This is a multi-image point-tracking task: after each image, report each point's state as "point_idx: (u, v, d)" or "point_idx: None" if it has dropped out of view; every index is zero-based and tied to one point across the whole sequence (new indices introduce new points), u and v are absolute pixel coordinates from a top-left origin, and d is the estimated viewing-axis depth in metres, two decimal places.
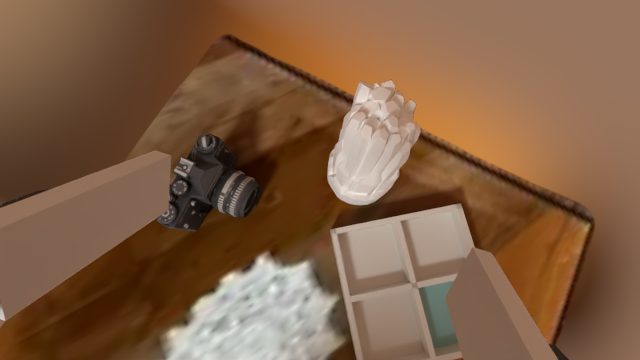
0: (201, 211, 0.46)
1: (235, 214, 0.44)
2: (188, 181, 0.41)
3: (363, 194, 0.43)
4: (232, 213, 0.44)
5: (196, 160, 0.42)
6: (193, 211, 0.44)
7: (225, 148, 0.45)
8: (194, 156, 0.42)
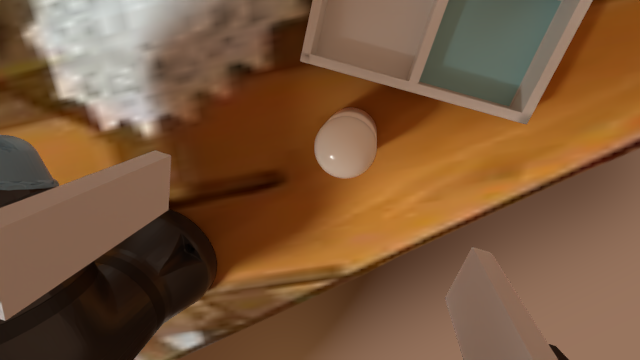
0: None
1: None
2: None
3: None
4: None
5: None
6: None
7: None
8: None
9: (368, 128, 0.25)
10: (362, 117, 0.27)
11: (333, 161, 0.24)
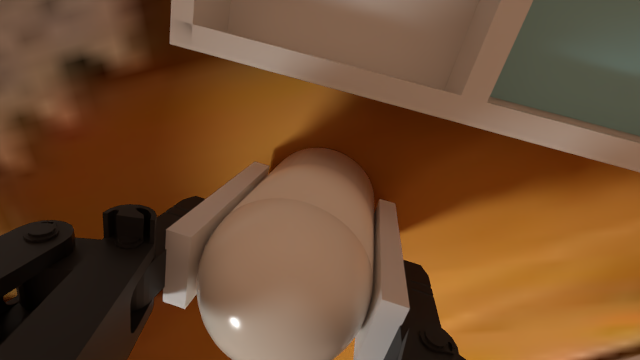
0: None
1: None
2: None
3: None
4: None
5: None
6: None
7: None
8: None
9: (346, 240, 0.08)
10: (334, 190, 0.10)
11: (234, 355, 0.08)
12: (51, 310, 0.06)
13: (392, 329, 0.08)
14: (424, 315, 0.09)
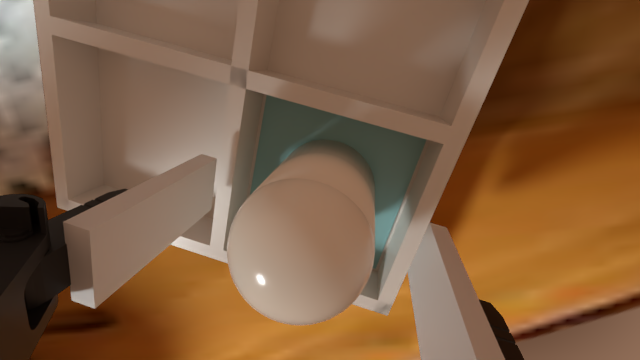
0: None
1: None
2: None
3: None
4: None
5: None
6: None
7: None
8: None
9: (353, 212, 0.10)
10: (341, 173, 0.12)
11: (262, 304, 0.09)
12: None
13: None
14: None
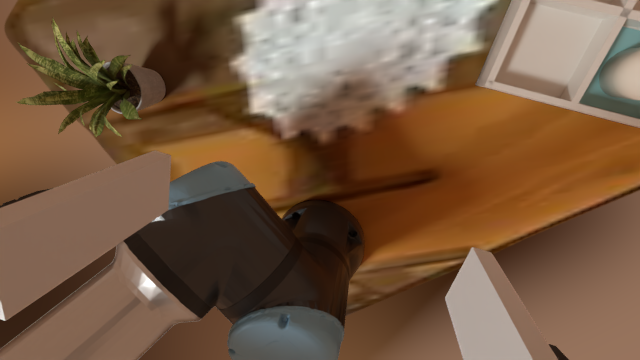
0: None
1: None
2: None
3: None
4: None
5: None
6: None
7: None
8: None
9: None
10: None
11: None
12: None
13: None
14: None
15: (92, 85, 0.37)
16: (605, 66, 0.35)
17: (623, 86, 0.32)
